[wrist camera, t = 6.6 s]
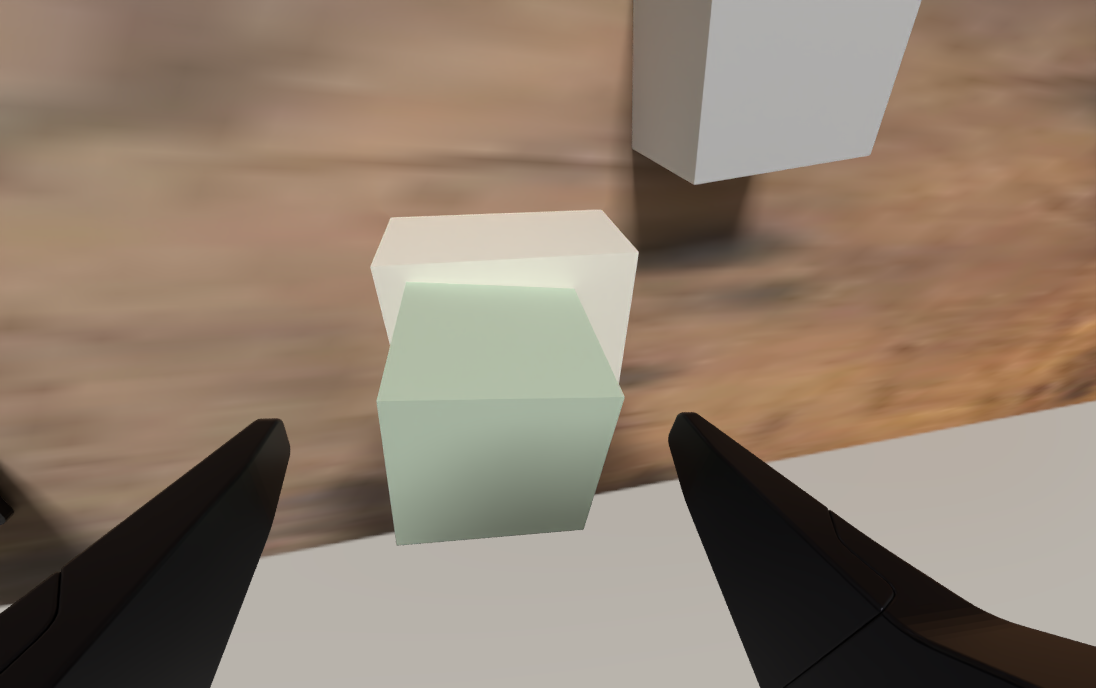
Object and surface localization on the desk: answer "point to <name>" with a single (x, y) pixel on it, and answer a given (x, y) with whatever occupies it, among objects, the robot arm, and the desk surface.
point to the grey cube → (762, 81)
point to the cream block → (515, 262)
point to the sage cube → (493, 412)
